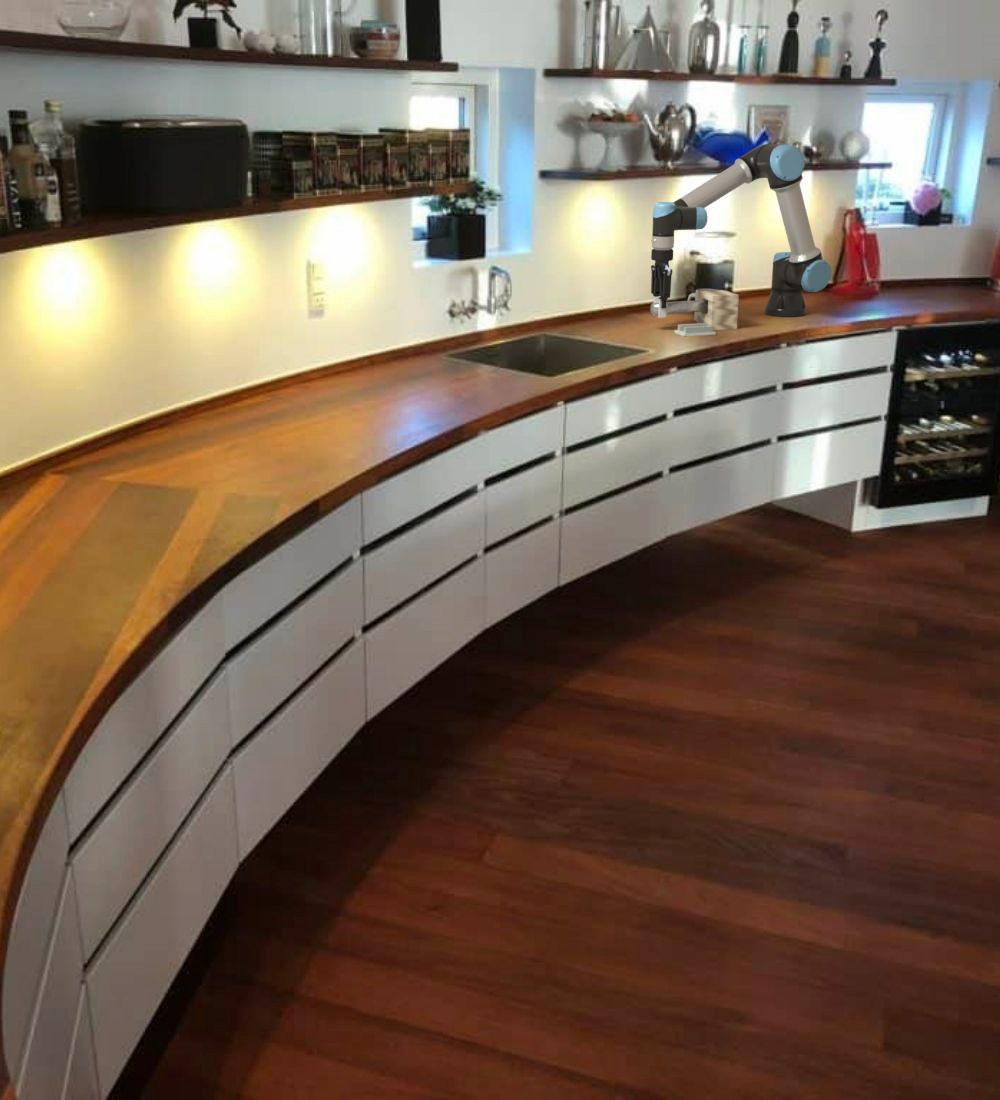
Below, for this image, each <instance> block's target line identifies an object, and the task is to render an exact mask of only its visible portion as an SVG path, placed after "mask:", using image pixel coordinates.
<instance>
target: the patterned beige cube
mask: <svg viewBox="0 0 1000 1100" xmlns="http://www.w3.org/2000/svg"><path fill="white" fill-rule="evenodd" d="M739 296H740V294H737V293H734V292H731V291H728V290H725V289H716V290H713V291H698V300H708V311H705V312H697V321H696V324H697V323H705V324H707V326H713V331H723V330H736V329H738V313H739V298H740V297H739Z"/></svg>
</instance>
